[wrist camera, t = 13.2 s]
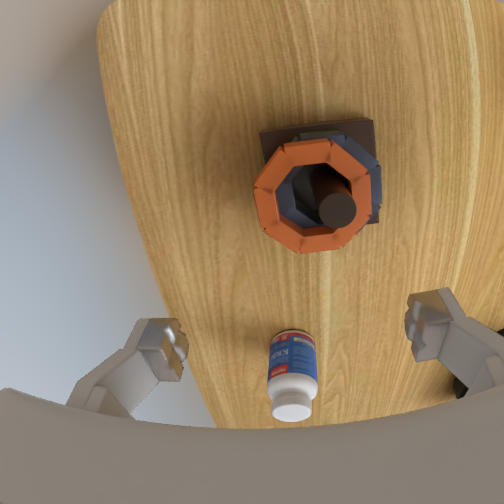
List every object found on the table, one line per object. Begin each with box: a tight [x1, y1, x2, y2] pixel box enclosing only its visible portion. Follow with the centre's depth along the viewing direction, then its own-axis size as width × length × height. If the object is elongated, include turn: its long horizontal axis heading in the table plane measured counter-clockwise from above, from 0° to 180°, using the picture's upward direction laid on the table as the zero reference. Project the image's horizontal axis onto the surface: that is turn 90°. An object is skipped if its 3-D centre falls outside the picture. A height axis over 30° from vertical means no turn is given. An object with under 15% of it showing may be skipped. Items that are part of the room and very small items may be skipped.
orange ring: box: [253, 138, 372, 254], centre depth 21 cm, size 8×8×1 cm
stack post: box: [259, 118, 382, 235], centre depth 22 cm, size 9×9×8 cm
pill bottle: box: [267, 330, 318, 422], centre depth 31 cm, size 6×5×10 cm
